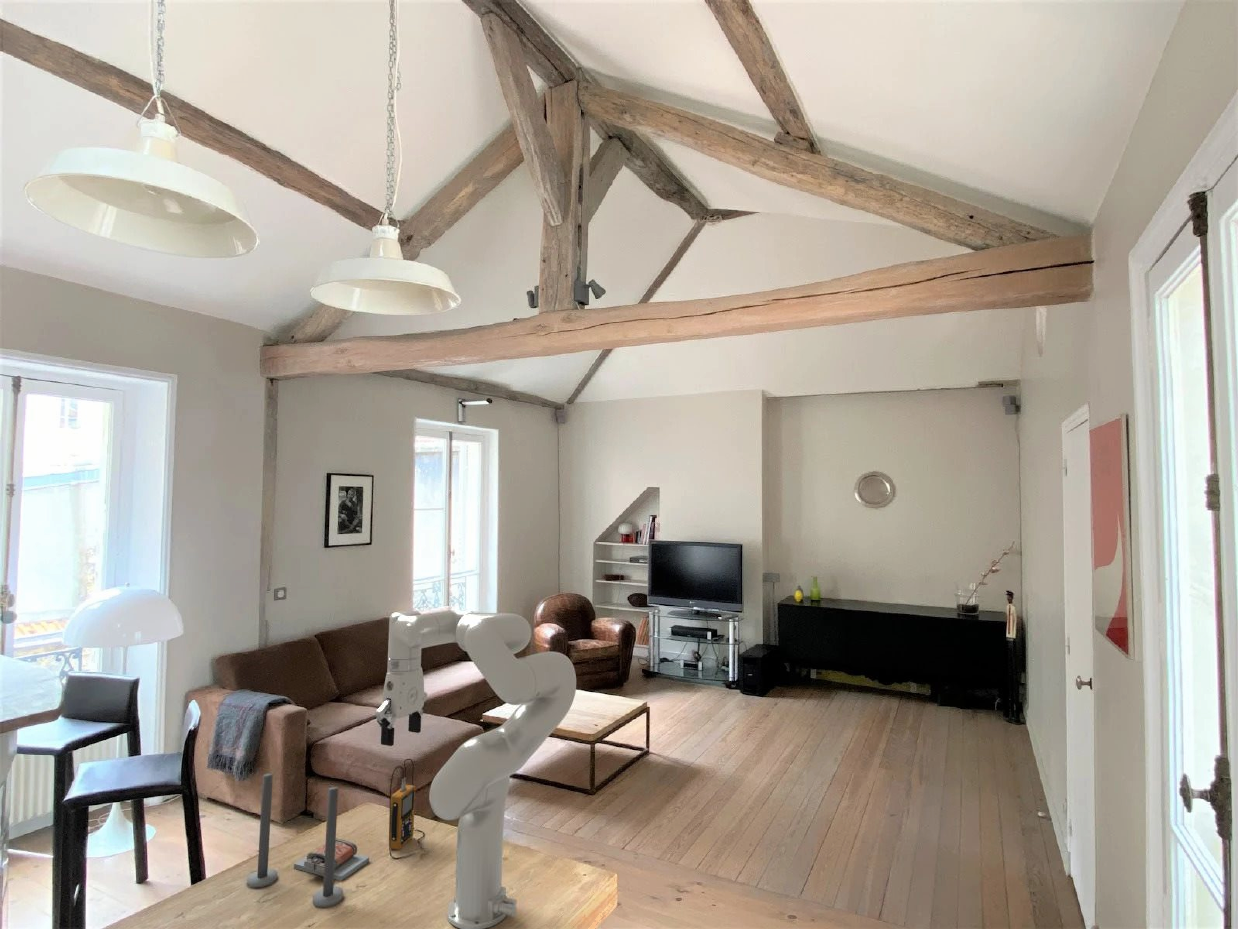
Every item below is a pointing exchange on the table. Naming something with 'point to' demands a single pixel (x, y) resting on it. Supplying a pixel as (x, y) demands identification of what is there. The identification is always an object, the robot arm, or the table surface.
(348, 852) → the lighter
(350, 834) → the table surface
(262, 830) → the far cord post
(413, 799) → the multimeter
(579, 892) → the table surface
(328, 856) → the post
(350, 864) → the mat
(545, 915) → the table surface
